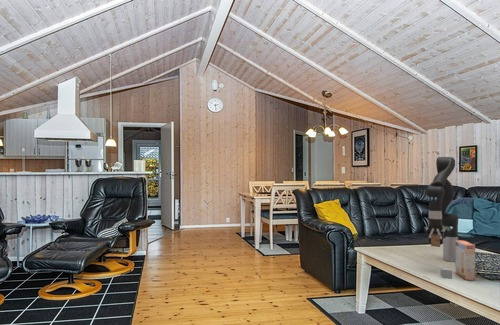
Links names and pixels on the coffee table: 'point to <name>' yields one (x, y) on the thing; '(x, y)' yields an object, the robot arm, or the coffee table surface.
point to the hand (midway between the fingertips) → (435, 244)
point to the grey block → (446, 273)
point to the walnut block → (435, 240)
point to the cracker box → (465, 260)
